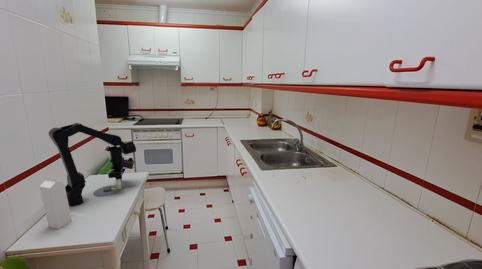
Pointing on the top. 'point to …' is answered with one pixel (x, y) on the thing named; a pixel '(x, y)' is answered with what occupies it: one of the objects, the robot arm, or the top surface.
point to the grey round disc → (101, 192)
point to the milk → (55, 203)
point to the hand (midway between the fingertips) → (120, 182)
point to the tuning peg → (109, 188)
